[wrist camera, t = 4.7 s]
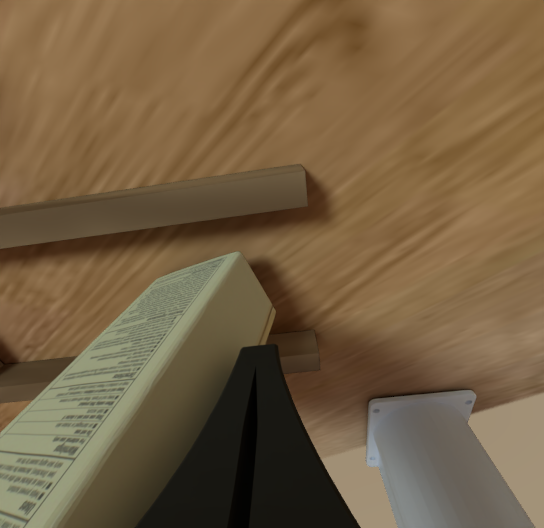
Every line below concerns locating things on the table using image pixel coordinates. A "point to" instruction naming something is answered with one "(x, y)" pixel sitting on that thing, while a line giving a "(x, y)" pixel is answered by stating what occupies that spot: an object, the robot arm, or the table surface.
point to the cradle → (149, 214)
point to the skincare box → (131, 401)
